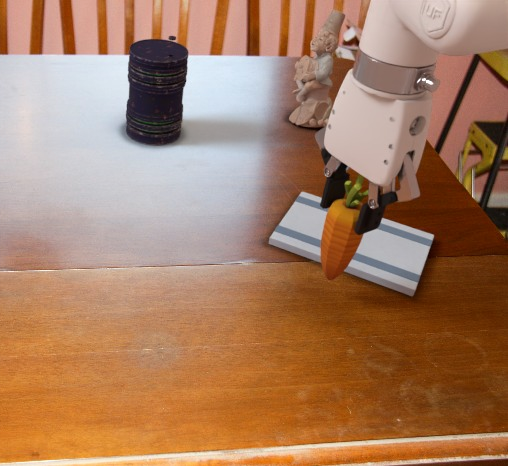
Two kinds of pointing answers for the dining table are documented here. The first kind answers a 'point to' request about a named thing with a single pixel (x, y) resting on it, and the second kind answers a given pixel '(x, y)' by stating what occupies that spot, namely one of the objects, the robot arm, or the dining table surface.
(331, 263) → the carrot
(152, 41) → the dark blue cylinder
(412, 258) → the towel
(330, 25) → the figurine
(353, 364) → the dining table surface
